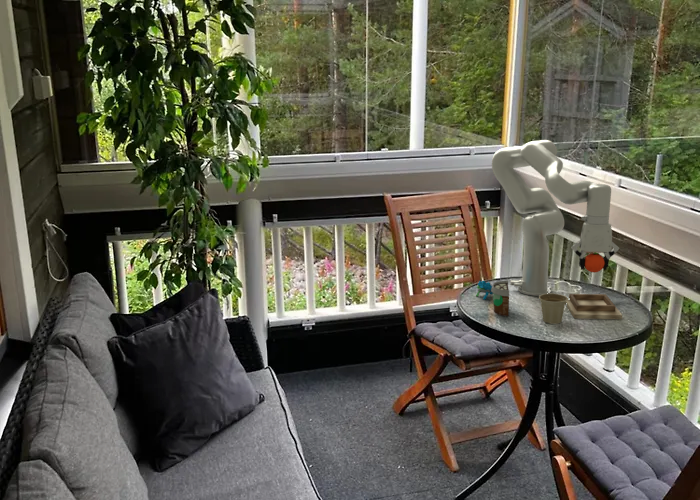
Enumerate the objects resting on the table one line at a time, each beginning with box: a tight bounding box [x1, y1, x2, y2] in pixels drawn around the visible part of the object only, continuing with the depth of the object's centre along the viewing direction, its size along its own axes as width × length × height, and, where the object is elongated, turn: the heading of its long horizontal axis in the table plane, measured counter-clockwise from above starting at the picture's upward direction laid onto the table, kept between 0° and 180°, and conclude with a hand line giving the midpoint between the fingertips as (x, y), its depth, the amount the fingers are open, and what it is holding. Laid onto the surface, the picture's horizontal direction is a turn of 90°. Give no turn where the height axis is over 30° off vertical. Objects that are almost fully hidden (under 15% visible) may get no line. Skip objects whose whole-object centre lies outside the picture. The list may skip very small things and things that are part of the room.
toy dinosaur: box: [475, 280, 493, 301], centre depth 240 cm, size 11×6×10 cm
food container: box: [491, 280, 510, 317], centre depth 225 cm, size 12×6×10 cm, turn 168°
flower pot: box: [538, 292, 568, 325], centre depth 214 cm, size 9×9×9 cm
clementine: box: [584, 253, 605, 273], centre depth 221 cm, size 8×7×7 cm
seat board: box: [566, 293, 623, 320], centre depth 225 cm, size 16×20×4 cm
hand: (593, 268), depth 222 cm, fingers closed on clementine, 7 cm apart
